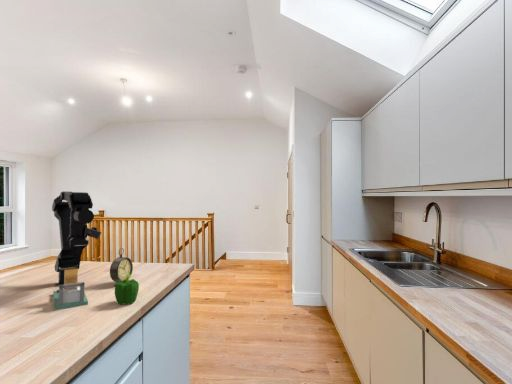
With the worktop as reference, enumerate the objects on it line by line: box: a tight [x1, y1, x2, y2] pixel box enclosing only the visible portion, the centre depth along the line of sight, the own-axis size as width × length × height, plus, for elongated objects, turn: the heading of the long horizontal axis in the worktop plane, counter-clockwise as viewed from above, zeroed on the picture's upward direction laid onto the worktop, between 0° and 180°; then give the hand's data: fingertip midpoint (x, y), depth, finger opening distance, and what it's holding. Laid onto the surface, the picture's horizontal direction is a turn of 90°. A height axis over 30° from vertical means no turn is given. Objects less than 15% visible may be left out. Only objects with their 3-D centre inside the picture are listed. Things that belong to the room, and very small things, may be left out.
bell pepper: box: [114, 274, 140, 305], centre depth 108 cm, size 8×8×10 cm
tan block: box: [63, 267, 79, 293], centre depth 106 cm, size 10×4×10 cm, turn 36°
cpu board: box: [53, 281, 89, 311], centre depth 111 cm, size 20×10×8 cm, turn 36°
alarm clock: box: [109, 247, 134, 283], centre depth 132 cm, size 11×5×16 cm, turn 168°
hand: (77, 259), depth 120 cm, fingers open, 9 cm apart
